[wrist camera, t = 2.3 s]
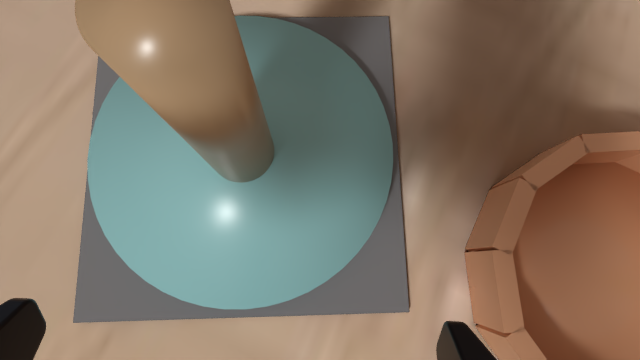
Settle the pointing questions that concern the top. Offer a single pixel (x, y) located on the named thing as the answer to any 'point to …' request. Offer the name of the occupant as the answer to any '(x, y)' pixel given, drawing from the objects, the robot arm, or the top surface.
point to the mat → (327, 299)
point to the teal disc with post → (231, 151)
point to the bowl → (562, 254)
